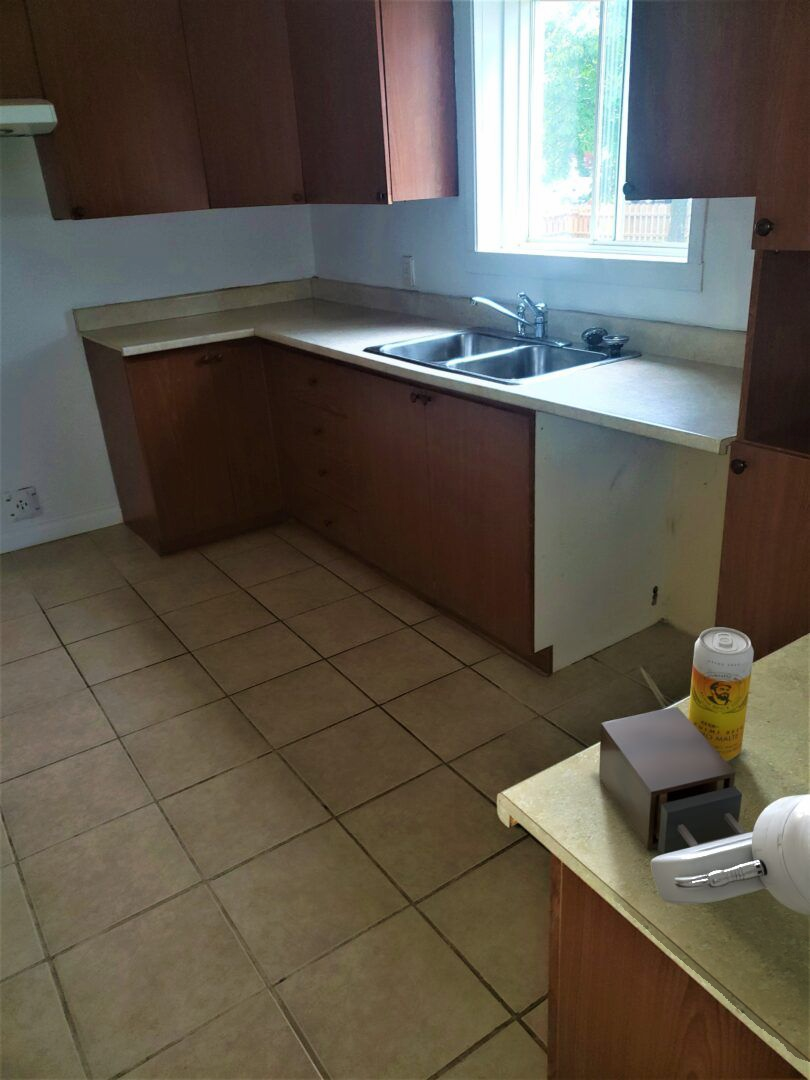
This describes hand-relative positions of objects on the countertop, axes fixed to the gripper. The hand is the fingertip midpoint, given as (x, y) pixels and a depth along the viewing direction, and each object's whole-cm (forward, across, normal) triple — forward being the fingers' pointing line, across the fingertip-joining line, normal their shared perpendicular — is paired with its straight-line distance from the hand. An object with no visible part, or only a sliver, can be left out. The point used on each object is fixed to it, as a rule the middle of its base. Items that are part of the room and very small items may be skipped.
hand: (730, 852), depth 76 cm
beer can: (+16, +10, +9) cm, 21 cm away
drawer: (+8, 0, +2) cm, 8 cm away
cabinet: (+12, 0, +5) cm, 13 cm away
